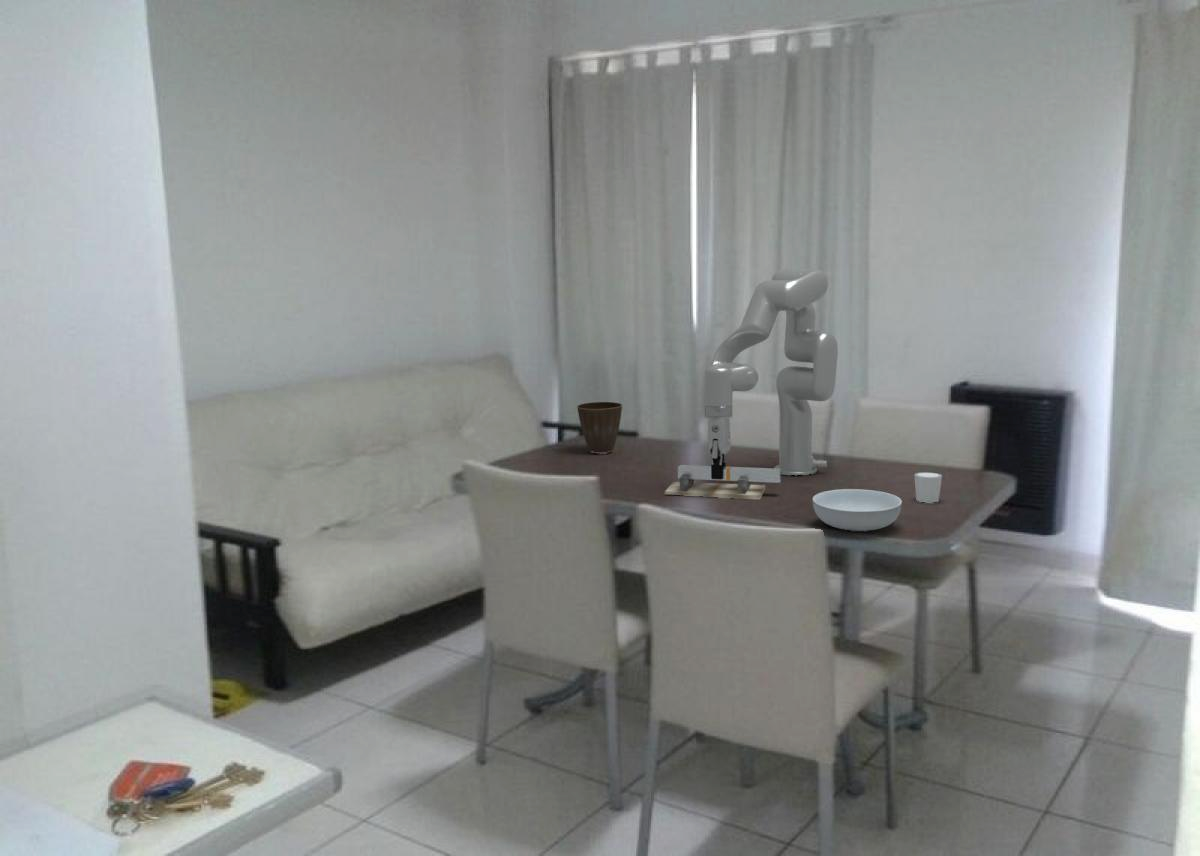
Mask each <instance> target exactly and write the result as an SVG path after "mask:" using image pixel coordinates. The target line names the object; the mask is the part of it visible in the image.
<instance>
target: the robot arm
mask: <svg viewBox="0 0 1200 856" xmlns="http://www.w3.org/2000/svg"><path fill="white" fill-rule="evenodd" d="M828 287H829V281H828V277H827V275H826V273H825V272H824V271H822V270H821V269H816V268H815V269H813V268H809V269H807V268H803V269H801V268H790V269H789V268H787V269H780V270H778V271H775V272H774V273H773V275H772V276H771V280H763V281H761V282H759V283H757V285H756V287H755V288H754V291H753V294H752V295H751V298H750V301H749V304H748V305H747V308H746V312H745V313H744V316H743V318H742V321H741V323H740V326H738V328H737V329H735V330H734V331H733V332H731V334H729V335H728V336H727V337H726V338H725V339H724V340H723V341H722V342H721V343H720V345H719V346H718V347H717V349H716V350H715V352H714V355H713V358H712V360H711V362H710V366H709V367H707V368H706V369H705V370H704V418H705V419H708V425H707V448H708V449H707V451H708V454H710V455H711V465H710V466H711V478H712V479H721V480H720V481H723V480H722V479H723V467H727V465H726V464H727V463H726V455H727V454H728V453H729V451H730V450H731V447H732V445H731V444H732V443H731V441H732V440H731V422H730V421H731V420H730V419H731V418H733V392H749V391H751V390H753V389H754V387H756V386H757V384H758V383H759V382H758V381H759V374H758V371H757V369H756V368H755V367H753V365H750V364H745V363H737V362H736V363H735V362H734V361H735V359H736V357H738V355H739V354H740V353H742V352H743V351H745V350H747V349H749V348H751V347H754V346H755V345H758V344H760V343H762V342H765V341H766V340H768V339H769V337H770V335H771V332H772V330H773V327H774V325H775V323H776V321H777V320H776V319H777V317H778V314H779V313H780V312H781V311H782V312H783V311H784V312H785V314H786V315H785V331H784V332H785V333H784V346H783V349H784V350H783V352H784V356H785V357H786V359H788V360H790V361H792V362H796V363H797V362H799V363H806V364H807V363H810V364H813V367H808V366H797V365H796V366H795V365H792V366H791V365H790V366H787V367H783V368H781V370H780V371H779V372H778V373H777V376H776V380H775V385H776V392H777V397H778V407H779V439H778V440H779V443H778V444H779V445H778V446H779V447H778V448H779V450H778V451H779V454H778V455H779V457H778V459H779V462H778V463H779V464H777V465H774V467H773V468H775V469H781V476H782V475H783V476H791V475H795V476H796V477H797V475H803V476H810V475H809V474H811V475H813V474H816V473H817V470H818V468H827V467H828V461H827V460H824V459H815V458H814V455H812V454H813V453H812V451H813V450H812V448H813V447H812V445H813V444H812V443H813V413H812V407H811V405H810V403H809V401H812V402H826V401H828V400H830V399H831V397H832V395H834V391H835V387H836V381H837V380H836V378H837V377H836V376H837V365H838V354H839V353H838V351H839V349H838V348H839V346H838V342H837V339H836V337H835V335H834V334H833V333H832V332H830V331H826V330H818V329H816V315H817V313H816V309H815V306H814V304H813V303H814V302H815V303H816V302H817V301H819V300H820V299H822V298H823V297H824V295H826V293H827V290H828Z"/></svg>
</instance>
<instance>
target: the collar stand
mask: <svg viewBox="0 0 1200 856" xmlns="http://www.w3.org/2000/svg"><path fill="white" fill-rule="evenodd" d="M694 481H695V479H689V476H683V475H682V476H681V477H680V479H679V481H673V482H672V483H671V484H670V485H669V486H668V487H667V488H666V490H665V491H664V495H665V494H676V495H690V496H704V497H703V498H707V497H718V498H717V499H730V498H734V499H735V500H737V499H738V500H756V501H757V500H759V501H760V500H761V498H762V497H763V495H764V493H765V491H766V484H751V482H749V481H747V478H739V479H738V481H737V483H720V482H717V483H715V482H714V483H713V482H694ZM734 499H733V500H734Z"/></svg>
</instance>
